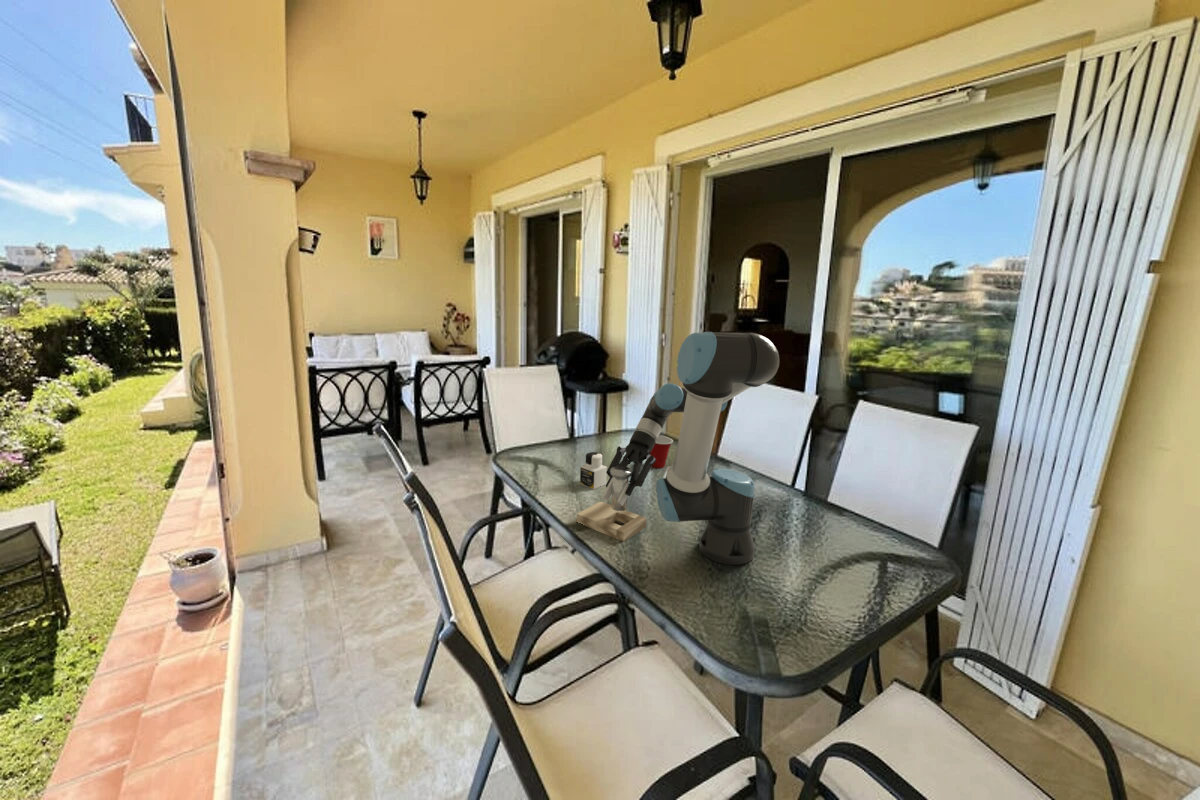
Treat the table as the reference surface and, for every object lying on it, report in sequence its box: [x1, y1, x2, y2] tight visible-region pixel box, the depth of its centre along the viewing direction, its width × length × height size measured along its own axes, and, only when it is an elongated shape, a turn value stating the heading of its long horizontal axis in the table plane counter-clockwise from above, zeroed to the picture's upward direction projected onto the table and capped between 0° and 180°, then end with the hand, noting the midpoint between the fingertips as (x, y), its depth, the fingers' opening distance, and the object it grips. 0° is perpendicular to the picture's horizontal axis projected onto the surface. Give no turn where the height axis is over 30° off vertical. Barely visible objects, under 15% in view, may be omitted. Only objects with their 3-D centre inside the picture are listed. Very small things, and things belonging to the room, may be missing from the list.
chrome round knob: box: [610, 466, 633, 511], centre depth 151 cm, size 6×6×12 cm
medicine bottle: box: [579, 451, 608, 490], centre depth 184 cm, size 7×7×12 cm
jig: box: [576, 501, 648, 543], centre depth 154 cm, size 18×12×3 cm, turn 52°
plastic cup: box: [650, 434, 674, 469], centre depth 205 cm, size 11×11×12 cm
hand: (612, 501), depth 149 cm, fingers closed on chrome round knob, 5 cm apart
